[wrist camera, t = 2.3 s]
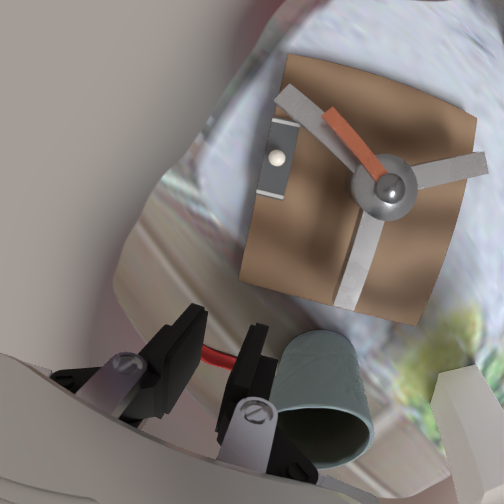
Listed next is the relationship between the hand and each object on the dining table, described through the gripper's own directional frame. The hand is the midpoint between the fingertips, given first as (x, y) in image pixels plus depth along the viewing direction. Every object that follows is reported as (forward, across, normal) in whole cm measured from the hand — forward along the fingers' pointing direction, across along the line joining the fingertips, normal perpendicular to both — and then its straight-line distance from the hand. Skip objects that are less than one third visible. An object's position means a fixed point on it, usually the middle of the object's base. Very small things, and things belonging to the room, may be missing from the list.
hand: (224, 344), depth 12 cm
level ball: (+15, +1, -8) cm, 17 cm away
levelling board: (+17, -7, -7) cm, 20 cm away
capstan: (+15, -7, -6) cm, 18 cm away
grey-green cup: (+17, -8, +12) cm, 23 cm away
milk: (+17, -28, +12) cm, 35 cm away
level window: (+16, +1, -8) cm, 18 cm away
